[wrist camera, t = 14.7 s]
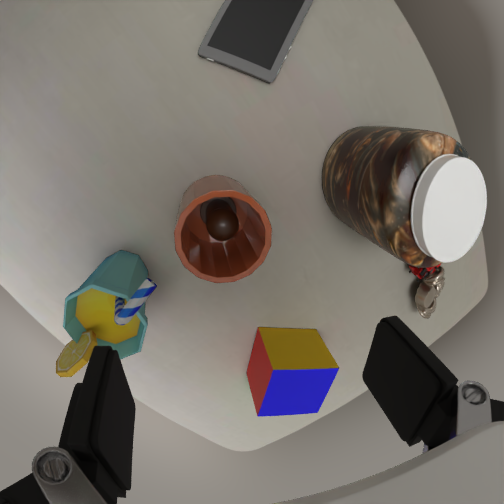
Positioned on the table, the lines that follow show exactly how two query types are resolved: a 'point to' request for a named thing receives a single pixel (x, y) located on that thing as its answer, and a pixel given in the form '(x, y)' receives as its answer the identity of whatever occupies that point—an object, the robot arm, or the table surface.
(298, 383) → the cube
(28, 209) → the table surface
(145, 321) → the cup
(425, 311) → the ornament
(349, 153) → the jar
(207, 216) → the pawn
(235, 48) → the smartphone
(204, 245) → the terracotta cup
